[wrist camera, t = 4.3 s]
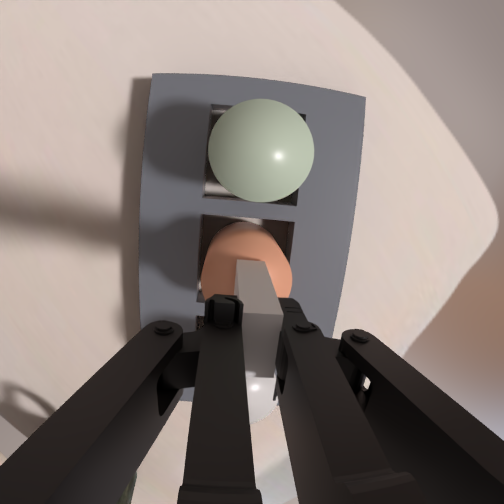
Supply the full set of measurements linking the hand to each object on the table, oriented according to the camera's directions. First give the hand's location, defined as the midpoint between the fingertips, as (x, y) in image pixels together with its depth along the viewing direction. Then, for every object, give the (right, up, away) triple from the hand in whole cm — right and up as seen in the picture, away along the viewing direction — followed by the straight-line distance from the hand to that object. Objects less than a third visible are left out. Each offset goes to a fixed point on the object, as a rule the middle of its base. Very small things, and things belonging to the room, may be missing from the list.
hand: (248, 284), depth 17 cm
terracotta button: (0, +1, +5) cm, 5 cm away
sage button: (0, +8, +2) cm, 8 cm away
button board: (0, +1, +6) cm, 6 cm away
